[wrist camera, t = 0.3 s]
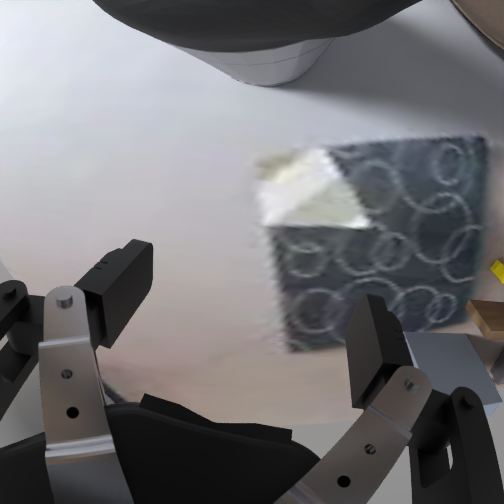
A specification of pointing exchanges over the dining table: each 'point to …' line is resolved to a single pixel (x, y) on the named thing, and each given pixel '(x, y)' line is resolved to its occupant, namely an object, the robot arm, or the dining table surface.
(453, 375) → the pale blue slab
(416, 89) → the dining table surface
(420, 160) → the dining table surface
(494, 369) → the pit tray
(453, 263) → the dining table surface
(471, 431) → the robot arm
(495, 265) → the watch
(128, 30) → the dining table surface
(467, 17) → the plant saucer
